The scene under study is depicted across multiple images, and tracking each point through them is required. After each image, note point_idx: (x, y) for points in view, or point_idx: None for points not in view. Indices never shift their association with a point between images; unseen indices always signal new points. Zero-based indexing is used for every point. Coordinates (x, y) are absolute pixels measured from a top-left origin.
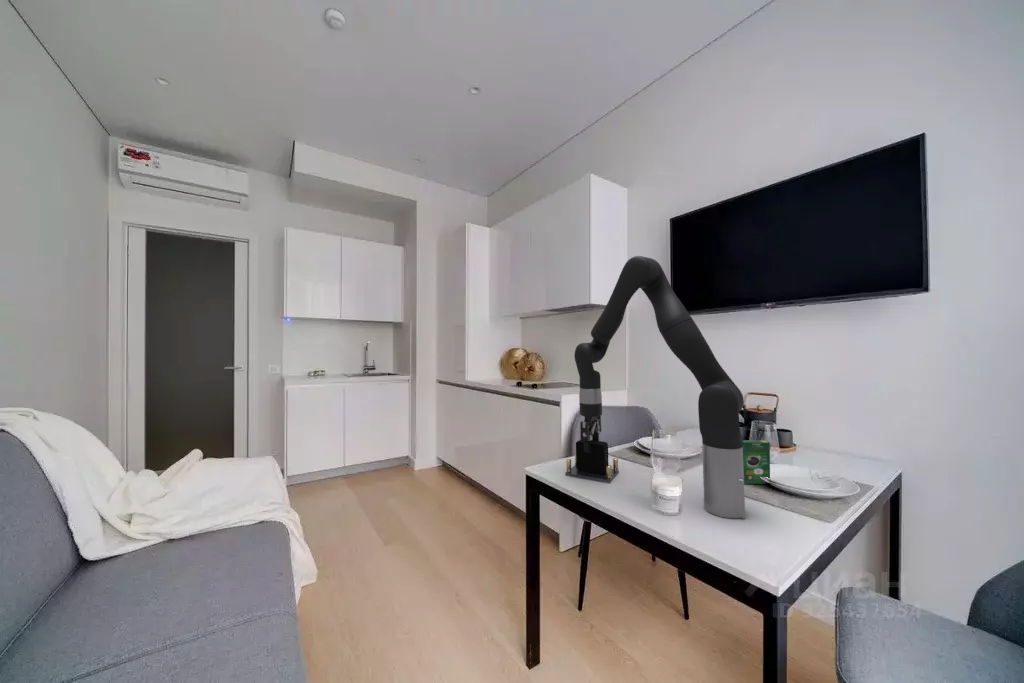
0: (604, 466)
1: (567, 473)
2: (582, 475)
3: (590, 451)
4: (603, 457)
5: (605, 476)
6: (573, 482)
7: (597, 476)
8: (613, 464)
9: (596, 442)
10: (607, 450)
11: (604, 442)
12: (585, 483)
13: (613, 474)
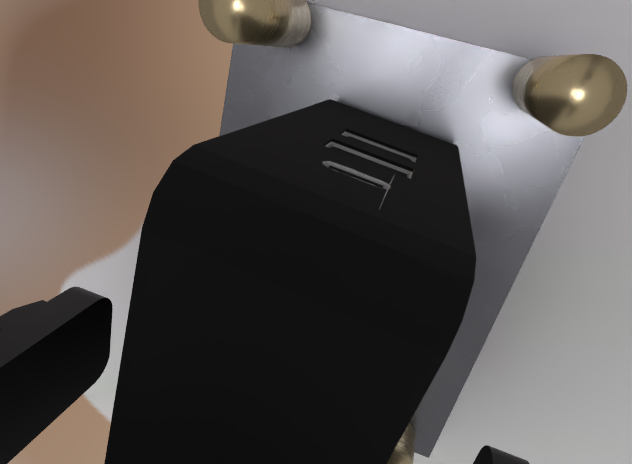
0: (446, 154)
1: (434, 442)
2: (483, 340)
3: (511, 457)
4: (462, 196)
5: (482, 127)
6: (586, 395)
7: (495, 209)
8: (276, 40)
9: (254, 424)
10: (275, 140)
11: (198, 249)
12: (607, 305)
13: (405, 40)
